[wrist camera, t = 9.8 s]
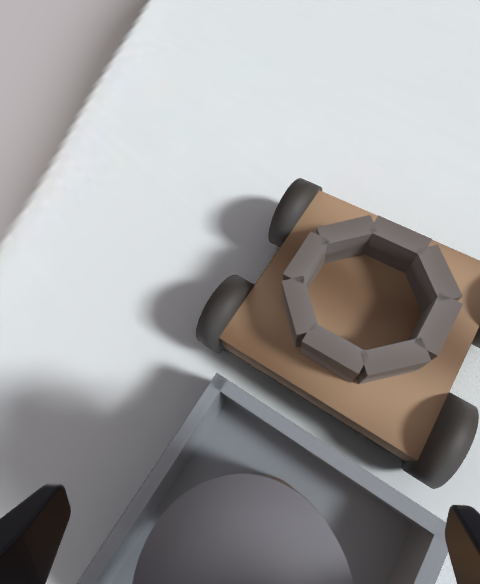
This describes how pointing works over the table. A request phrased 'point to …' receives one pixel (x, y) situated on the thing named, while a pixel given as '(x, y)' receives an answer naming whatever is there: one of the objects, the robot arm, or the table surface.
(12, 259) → the table surface
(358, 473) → the tray
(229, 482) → the pin
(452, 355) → the trolley
